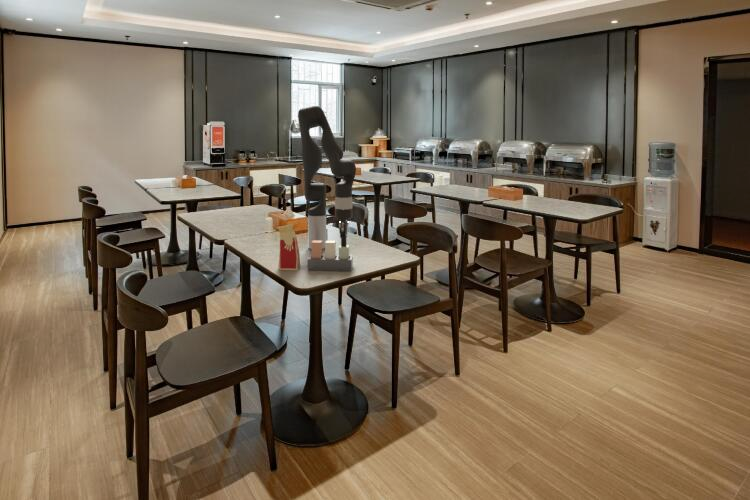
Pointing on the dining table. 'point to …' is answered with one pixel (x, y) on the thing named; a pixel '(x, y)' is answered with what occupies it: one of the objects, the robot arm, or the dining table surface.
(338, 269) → the frame
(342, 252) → the sage key
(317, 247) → the terracotta key
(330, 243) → the ivory key
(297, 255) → the milk carton
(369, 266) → the dining table surface
